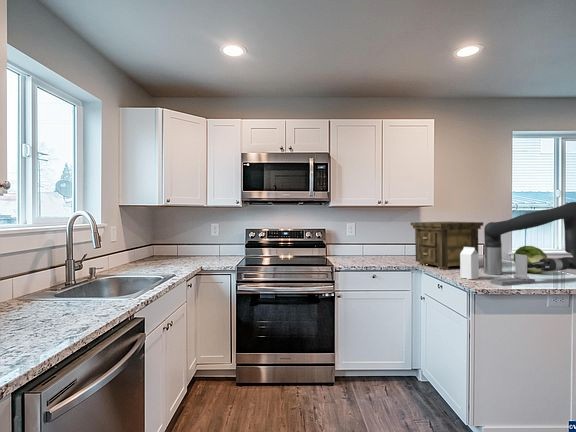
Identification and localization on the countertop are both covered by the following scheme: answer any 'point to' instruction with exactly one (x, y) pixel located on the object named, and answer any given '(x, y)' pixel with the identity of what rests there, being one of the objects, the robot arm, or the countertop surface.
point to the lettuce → (531, 256)
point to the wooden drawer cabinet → (444, 241)
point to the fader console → (511, 281)
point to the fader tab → (521, 266)
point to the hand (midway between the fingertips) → (526, 266)
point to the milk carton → (469, 263)
